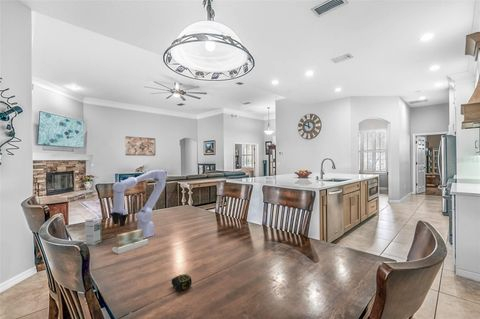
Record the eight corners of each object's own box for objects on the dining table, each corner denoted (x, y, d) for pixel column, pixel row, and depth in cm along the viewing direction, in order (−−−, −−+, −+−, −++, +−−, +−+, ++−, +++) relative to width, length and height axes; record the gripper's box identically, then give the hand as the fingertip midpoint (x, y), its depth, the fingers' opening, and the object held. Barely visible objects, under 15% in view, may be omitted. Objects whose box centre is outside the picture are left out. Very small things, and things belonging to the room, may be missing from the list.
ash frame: (140, 242, 137) (140, 228, 137) (143, 243, 136) (143, 229, 136) (116, 250, 126) (116, 235, 126) (118, 251, 124) (118, 236, 124)
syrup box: (93, 245, 135) (93, 219, 135) (85, 244, 136) (85, 219, 136) (101, 241, 141) (101, 217, 141) (93, 240, 142) (93, 217, 142)
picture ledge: (141, 242, 140) (141, 236, 140) (148, 244, 136) (148, 238, 136) (111, 251, 126) (111, 244, 126) (118, 254, 122) (118, 247, 122)
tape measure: (170, 286, 92) (170, 276, 92) (187, 281, 95) (187, 272, 95) (176, 294, 86) (176, 284, 86) (194, 288, 90) (194, 279, 90)
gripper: (106, 202, 142) (106, 224, 142) (118, 204, 133) (118, 228, 133) (118, 200, 147) (118, 222, 147) (130, 203, 139) (130, 225, 139)
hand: (119, 225), depth 141 cm, fingers open, 7 cm apart
